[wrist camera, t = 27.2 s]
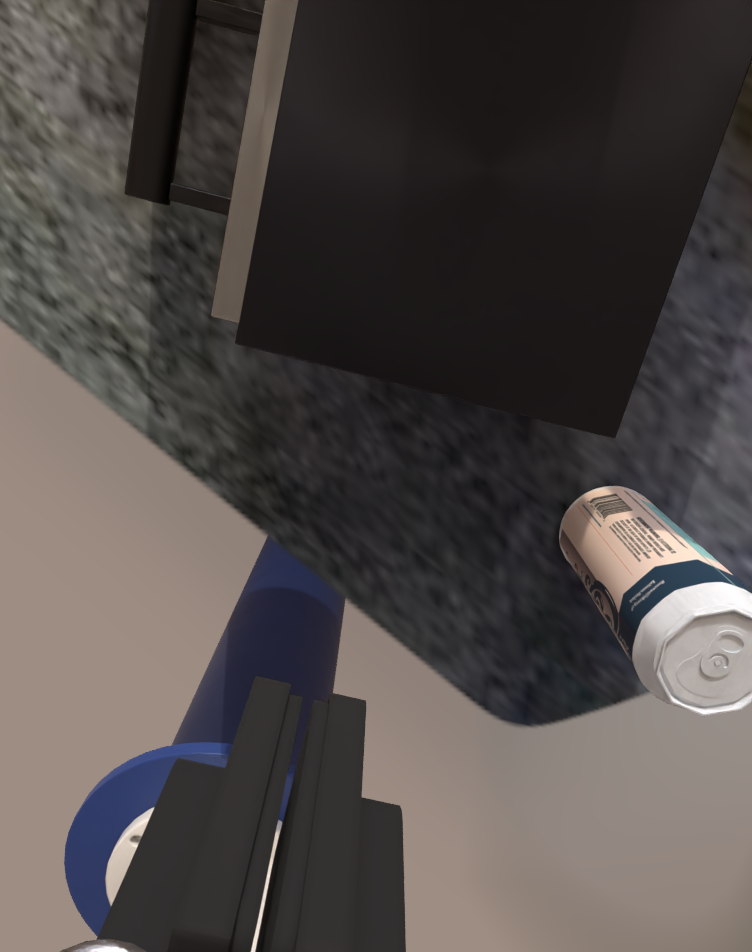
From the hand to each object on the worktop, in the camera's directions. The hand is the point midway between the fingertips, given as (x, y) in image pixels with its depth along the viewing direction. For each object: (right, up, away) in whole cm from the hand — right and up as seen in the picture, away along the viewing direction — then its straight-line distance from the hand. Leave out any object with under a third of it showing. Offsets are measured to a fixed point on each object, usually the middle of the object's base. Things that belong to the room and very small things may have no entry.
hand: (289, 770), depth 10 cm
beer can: (+13, +2, +24) cm, 27 cm away
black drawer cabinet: (+5, +16, +19) cm, 26 cm away
